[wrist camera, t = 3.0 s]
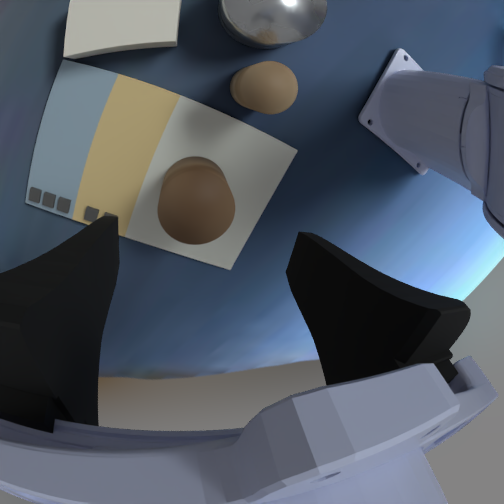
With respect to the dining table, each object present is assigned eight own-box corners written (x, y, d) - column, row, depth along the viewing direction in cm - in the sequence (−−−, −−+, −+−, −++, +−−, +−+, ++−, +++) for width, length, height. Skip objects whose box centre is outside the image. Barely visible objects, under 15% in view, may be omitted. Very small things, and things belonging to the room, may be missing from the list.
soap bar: (182, -9, 12) (182, -22, 10) (177, 47, 14) (175, 41, 12) (83, 3, 10) (71, -5, 8) (77, 59, 13) (63, 56, 11)
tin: (319, 8, 14) (343, -2, 11) (276, 65, 16) (294, 61, 13) (248, -36, 11) (261, -55, 8) (199, 22, 14) (203, 9, 11)
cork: (281, 79, 17) (307, 78, 13) (261, 115, 18) (281, 123, 14) (243, 59, 15) (259, 51, 12) (222, 96, 17) (231, 98, 13)
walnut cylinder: (237, 171, 19) (248, 190, 16) (210, 224, 21) (215, 253, 18) (177, 146, 17) (174, 161, 14) (153, 204, 19) (147, 231, 16)
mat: (295, 149, 20) (299, 151, 19) (229, 267, 24) (230, 272, 24) (65, 59, 12) (61, 59, 12) (27, 200, 17) (23, 204, 16)
